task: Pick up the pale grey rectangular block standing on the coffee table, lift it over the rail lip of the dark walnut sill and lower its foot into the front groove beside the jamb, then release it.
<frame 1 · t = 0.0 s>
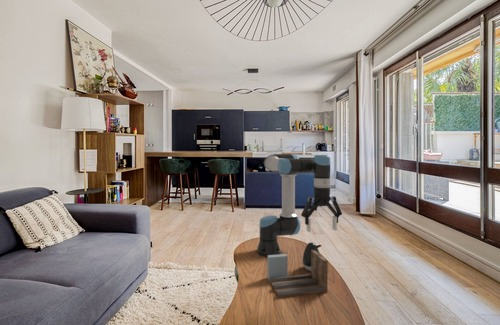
hand: (321, 230, 129), 28 cm above the table, fingers open, 13 cm apart
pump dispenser: (311, 269, 149), on the table
pale grey rectangular block: (277, 278, 139), on the table
track sill: (297, 287, 130), on the table
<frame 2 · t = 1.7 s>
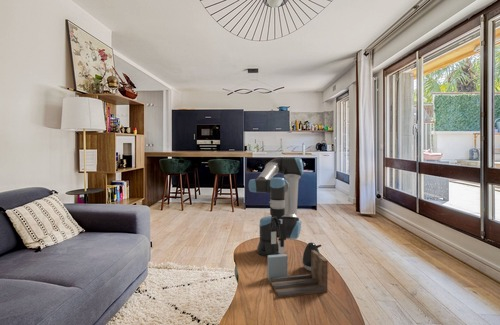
hand: (277, 248, 138), 16 cm above the table, fingers open, 13 cm apart
nothing on the table moved.
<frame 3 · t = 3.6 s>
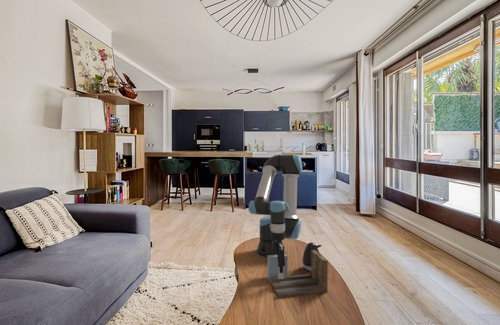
hand: (278, 275, 138), 2 cm above the table, fingers open, 8 cm apart
nothing on the table moved.
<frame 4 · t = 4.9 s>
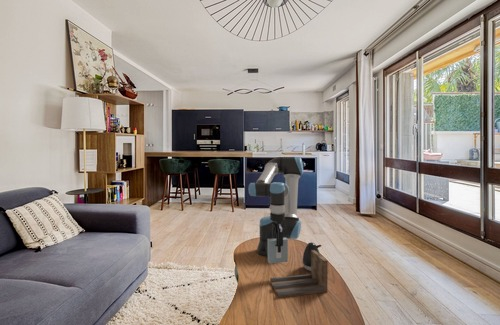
hand: (277, 256, 139), 11 cm above the table, fingers closed on pale grey rectangular block, 3 cm apart
pale grey rectangular block: (277, 261, 139), point 9 cm above the table, touching gripper
everything else where it was.
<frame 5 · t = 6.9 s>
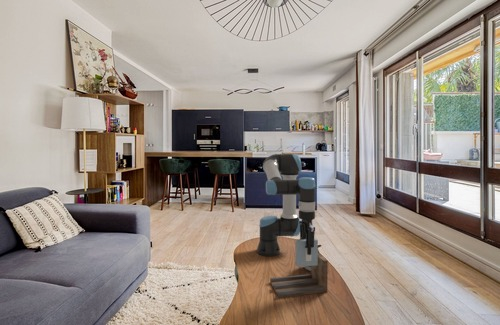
hand: (306, 259, 126), 15 cm above the table, fingers closed on pale grey rectangular block, 3 cm apart
pale grey rectangular block: (306, 264, 126), point 12 cm above the table, touching gripper
everything else where it was.
when the fingers open (4 cm above the table, at t = 9.1 s): pale grey rectangular block stays where it is, resting on track sill.
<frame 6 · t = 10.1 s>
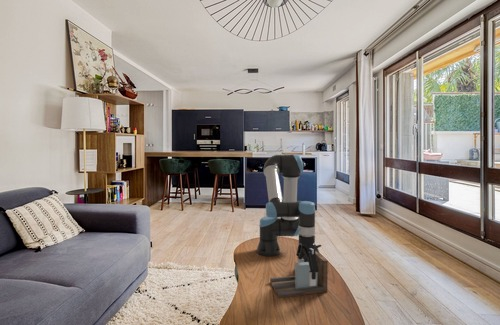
hand: (306, 278, 127), 6 cm above the table, fingers open, 13 cm apart
pale grey rectangular block: (306, 288, 127), point 1 cm above the table, touching track sill
everything else where it was.
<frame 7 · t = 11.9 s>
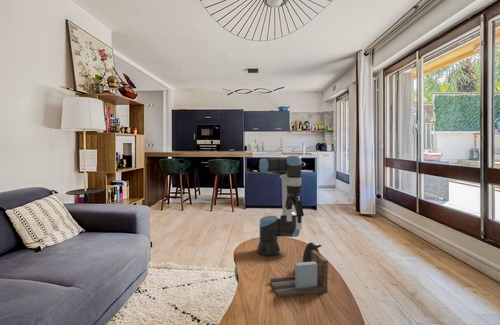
hand: (293, 224, 141), 27 cm above the table, fingers open, 13 cm apart
nothing on the table moved.
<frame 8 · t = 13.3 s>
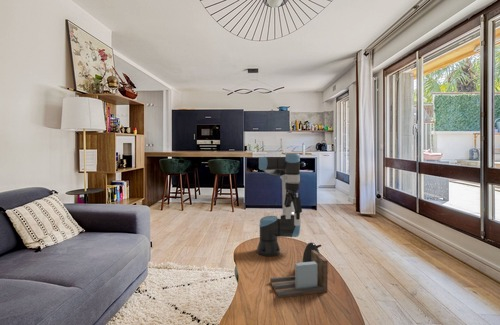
hand: (292, 222, 142), 29 cm above the table, fingers open, 13 cm apart
nothing on the table moved.
at the end: pale grey rectangular block inside the target area on the track sill (3.8 cm from its centre), point 1.0 cm above the track sill's base; pale grey rectangular block tilted 0°; the gripper is holding nothing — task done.
